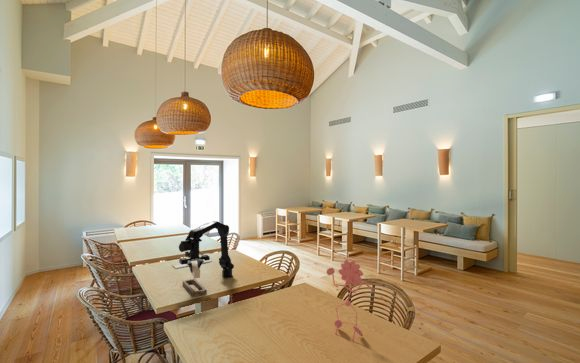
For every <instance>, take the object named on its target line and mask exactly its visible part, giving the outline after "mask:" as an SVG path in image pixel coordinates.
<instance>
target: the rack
mask: <svg viewBox="0 0 580 363" xmlns="http://www.w3.org/2000/svg"><path fill="white" fill-rule="evenodd" d="M190 284H194V286H195V287H197V289H199V290H196V291H195V289H193V288H192V287H191V286H190ZM182 286H183V287H184V289H186V290H187V291H188V293H189V294H190V295H191V297H199V296H201V295H206V294H208V291H207V288H205V287H204V285H202V283H200V282H199V281H198V280H197V278H190V279H187V280H182Z"/></svg>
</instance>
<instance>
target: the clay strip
mask: <svg viewBox="0 0 580 363" xmlns="http://www.w3.org/2000/svg"><path fill="white" fill-rule="evenodd" d="M189 272H190V273H191V271H190V270H189ZM191 275H192V277H193V279H199V278H201V268H200V269H199V268H198V266H197V265H196V263H192V273H191Z"/></svg>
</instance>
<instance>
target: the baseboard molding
mask: <svg viewBox="0 0 580 363" xmlns="http://www.w3.org/2000/svg"><path fill="white" fill-rule="evenodd" d="M203 261H204V262H203V263H202V265H203V264H207V263H212V262H213V261H212V259H210V260H207V261H205V260H204V259H203ZM191 263H196V265H197V264H198V263H197V260H196V261H191ZM171 266H172V268H174V269H175V268H176V269H175V270H177V268H178V269H181V268H182V267H183V268H187V266H188V265H187V264H183V265H182V264H180V263H176V264H172V265H171ZM188 267H189V266H188Z"/></svg>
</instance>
